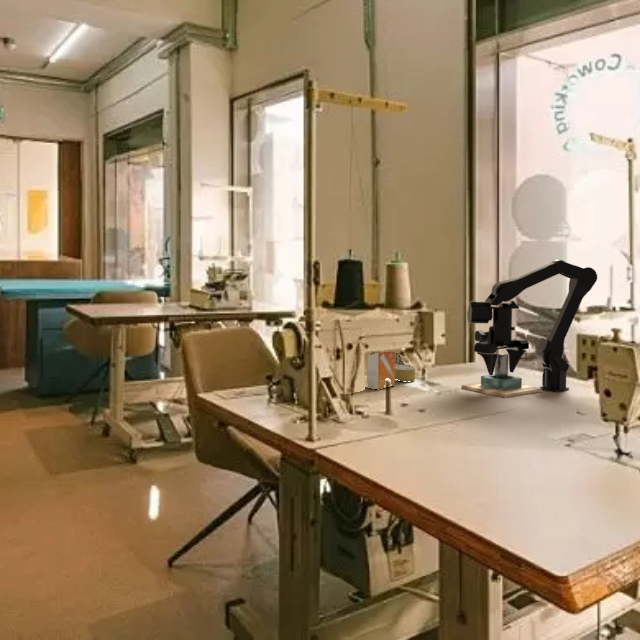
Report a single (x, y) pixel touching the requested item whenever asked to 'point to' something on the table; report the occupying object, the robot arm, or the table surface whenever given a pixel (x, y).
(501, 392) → the socket board
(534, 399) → the table surface
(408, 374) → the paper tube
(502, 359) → the steel pin
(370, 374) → the small box
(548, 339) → the robot arm
